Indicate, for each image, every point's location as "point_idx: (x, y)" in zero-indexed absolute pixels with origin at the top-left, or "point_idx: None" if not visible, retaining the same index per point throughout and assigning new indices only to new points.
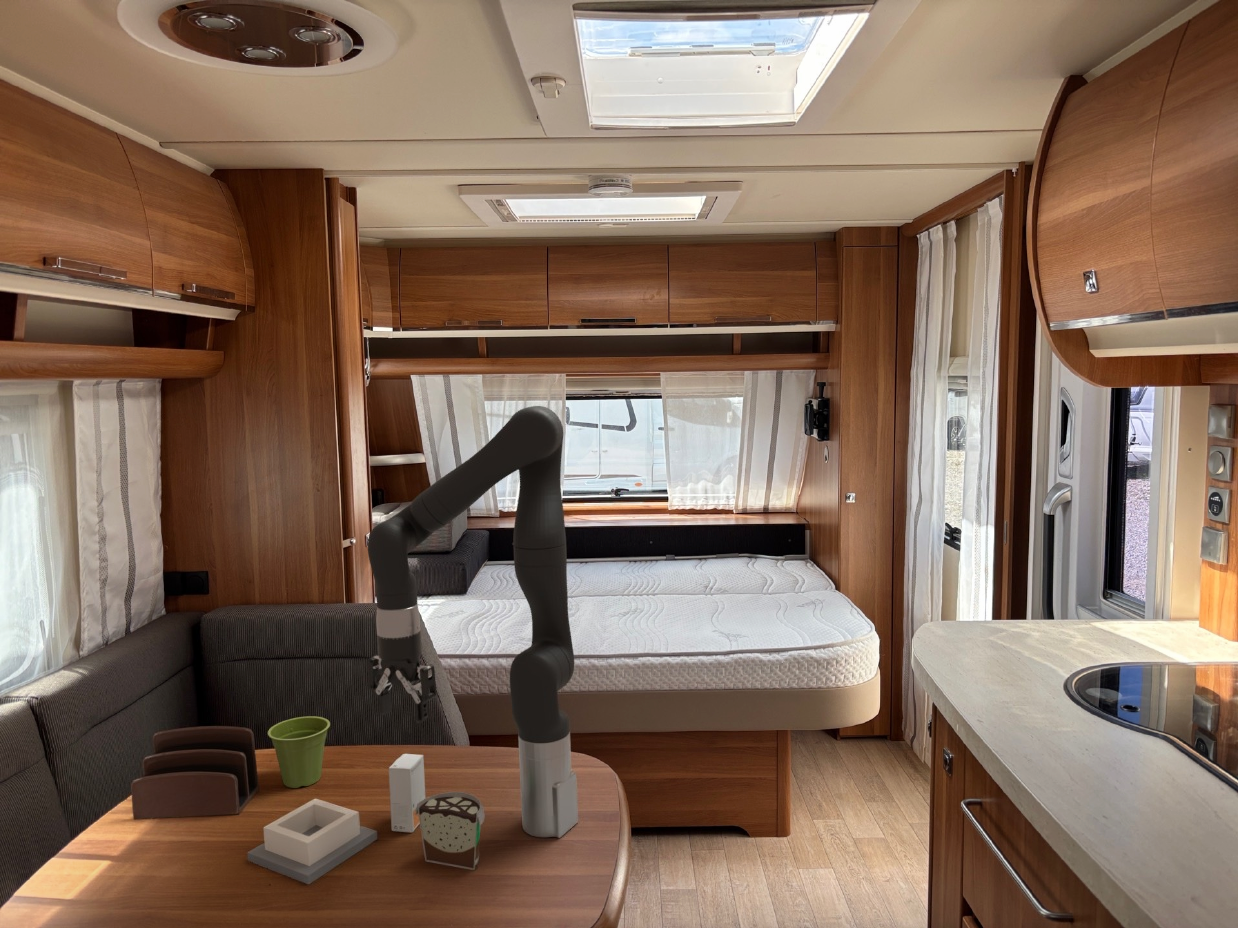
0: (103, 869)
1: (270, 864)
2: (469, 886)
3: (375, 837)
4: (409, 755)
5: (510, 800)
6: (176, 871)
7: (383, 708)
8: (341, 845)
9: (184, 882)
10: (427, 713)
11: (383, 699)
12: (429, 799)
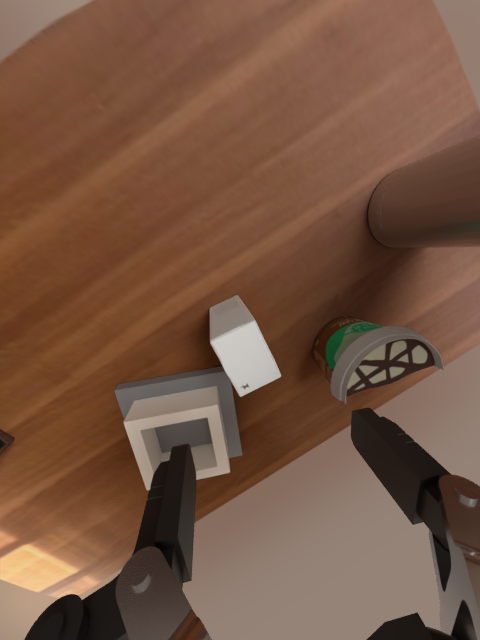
0: (41, 550)
1: None
2: None
3: None
4: (230, 340)
5: (313, 182)
6: (106, 511)
7: (194, 499)
8: (221, 411)
9: (134, 511)
10: (400, 431)
11: (191, 545)
12: (346, 379)
